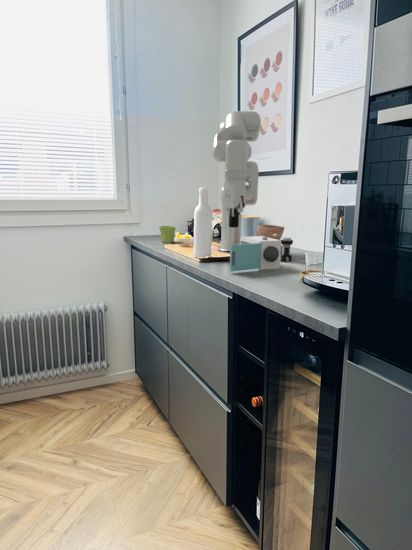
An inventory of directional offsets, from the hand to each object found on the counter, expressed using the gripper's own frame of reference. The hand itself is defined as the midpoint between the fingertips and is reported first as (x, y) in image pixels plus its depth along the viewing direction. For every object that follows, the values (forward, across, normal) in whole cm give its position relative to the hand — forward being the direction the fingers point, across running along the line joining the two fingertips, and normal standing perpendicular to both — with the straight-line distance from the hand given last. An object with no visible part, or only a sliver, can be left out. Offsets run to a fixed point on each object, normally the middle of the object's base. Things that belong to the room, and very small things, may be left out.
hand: (233, 227), depth 152 cm
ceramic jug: (+18, -20, +30) cm, 41 cm away
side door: (+15, +5, +3) cm, 17 cm away
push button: (+17, -8, +30) cm, 36 cm away
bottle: (+17, -29, +1) cm, 34 cm away
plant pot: (+19, -78, +3) cm, 80 cm away
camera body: (+17, -4, +14) cm, 22 cm away
